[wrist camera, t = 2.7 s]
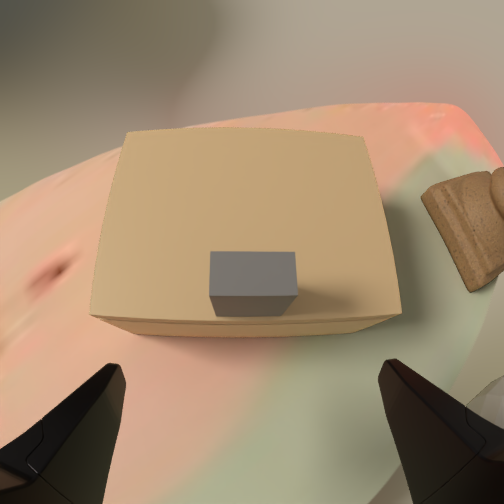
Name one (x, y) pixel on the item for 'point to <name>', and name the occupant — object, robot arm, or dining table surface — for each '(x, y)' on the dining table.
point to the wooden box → (243, 328)
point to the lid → (244, 230)
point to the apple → (490, 402)
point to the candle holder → (471, 223)
